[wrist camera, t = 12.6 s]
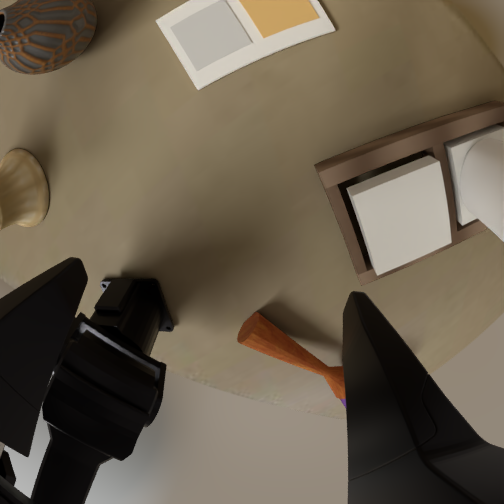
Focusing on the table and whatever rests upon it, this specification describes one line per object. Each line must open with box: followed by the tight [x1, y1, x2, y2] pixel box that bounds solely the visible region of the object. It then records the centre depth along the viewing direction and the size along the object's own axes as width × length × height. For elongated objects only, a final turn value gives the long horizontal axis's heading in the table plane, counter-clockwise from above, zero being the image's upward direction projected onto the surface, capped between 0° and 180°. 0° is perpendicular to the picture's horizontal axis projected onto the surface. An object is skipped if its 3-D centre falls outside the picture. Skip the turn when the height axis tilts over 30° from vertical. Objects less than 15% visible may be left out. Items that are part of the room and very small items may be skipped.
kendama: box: [237, 312, 346, 408], centre depth 28 cm, size 6×6×20 cm
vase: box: [0, 0, 97, 75], centre depth 10 cm, size 7×7×9 cm
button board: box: [314, 101, 504, 286], centre depth 18 cm, size 18×10×2 cm, turn 117°
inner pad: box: [346, 155, 452, 276], centre depth 18 cm, size 7×7×2 cm
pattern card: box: [156, 0, 336, 90], centre depth 14 cm, size 10×6×1 cm, turn 117°
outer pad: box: [443, 124, 504, 226], centre depth 16 cm, size 7×7×2 cm
